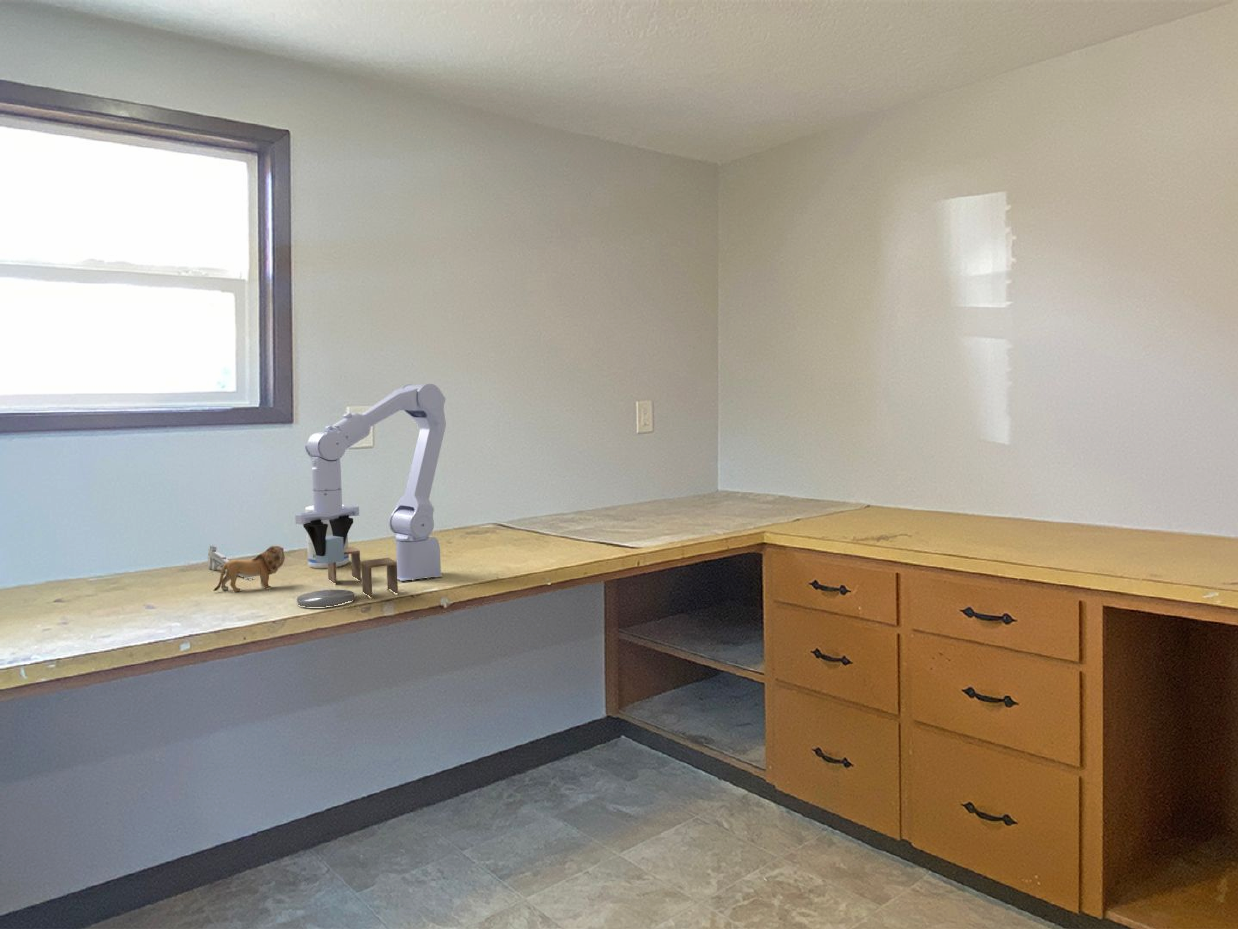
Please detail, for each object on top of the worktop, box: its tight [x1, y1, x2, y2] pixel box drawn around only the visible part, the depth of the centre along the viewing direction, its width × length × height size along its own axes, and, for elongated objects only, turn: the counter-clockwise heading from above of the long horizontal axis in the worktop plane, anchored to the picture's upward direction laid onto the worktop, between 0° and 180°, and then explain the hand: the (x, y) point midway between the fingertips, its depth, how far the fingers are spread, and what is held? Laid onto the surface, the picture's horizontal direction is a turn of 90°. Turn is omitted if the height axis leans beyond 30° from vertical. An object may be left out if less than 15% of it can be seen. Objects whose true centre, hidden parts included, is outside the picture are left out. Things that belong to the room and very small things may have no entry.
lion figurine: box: [213, 544, 285, 592], centre depth 185 cm, size 15×5×9 cm, turn 121°
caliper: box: [207, 544, 255, 580], centre depth 200 cm, size 20×1×6 cm, turn 51°
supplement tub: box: [305, 503, 350, 569], centre depth 208 cm, size 10×10×15 cm
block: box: [316, 536, 344, 564], centre depth 179 cm, size 4×4×5 cm
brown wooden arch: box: [327, 546, 362, 584], centre depth 191 cm, size 6×6×7 cm
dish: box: [296, 589, 355, 607], centre depth 172 cm, size 11×11×1 cm
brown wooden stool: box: [360, 557, 399, 597], centre depth 177 cm, size 6×6×7 cm
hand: (329, 553), depth 179 cm, fingers closed on block, 4 cm apart
